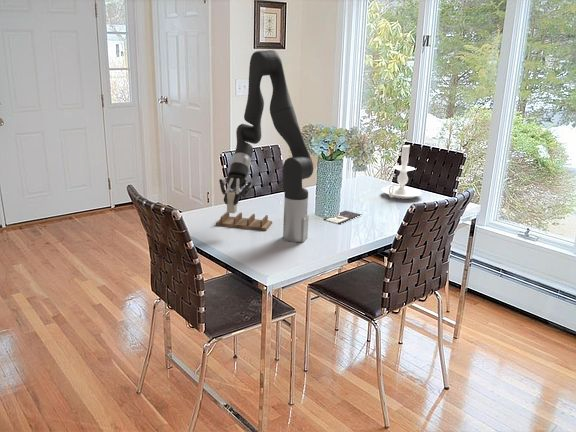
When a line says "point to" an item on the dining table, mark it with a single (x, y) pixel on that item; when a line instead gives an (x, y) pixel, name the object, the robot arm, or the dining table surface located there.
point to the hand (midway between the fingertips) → (230, 203)
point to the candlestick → (402, 179)
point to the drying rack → (244, 222)
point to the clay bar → (231, 202)
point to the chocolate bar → (343, 217)
